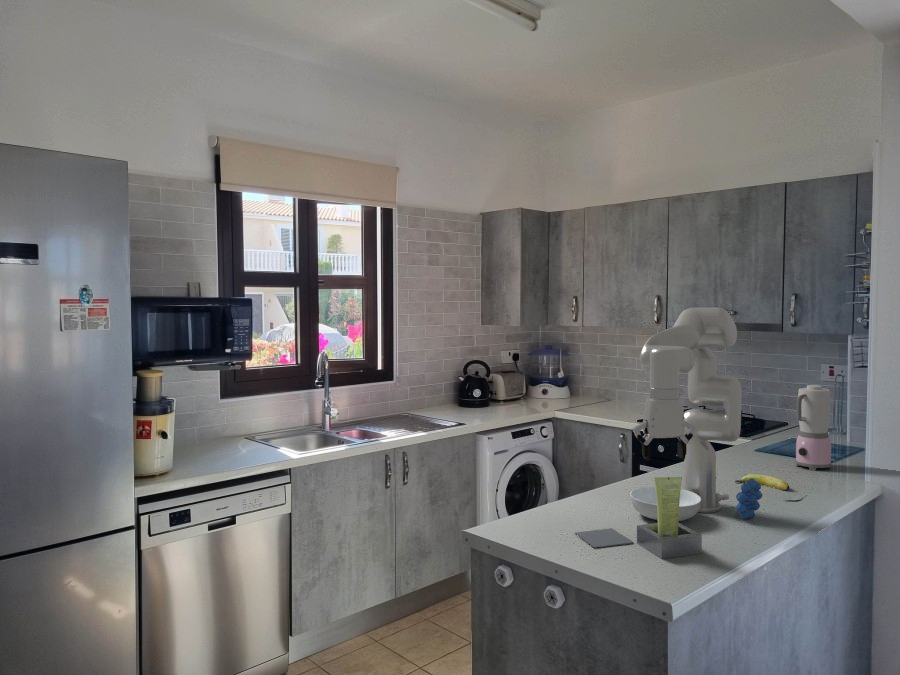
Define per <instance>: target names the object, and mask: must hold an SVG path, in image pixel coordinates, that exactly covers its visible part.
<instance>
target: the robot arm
mask: <svg viewBox="0 0 900 675" xmlns="http://www.w3.org/2000/svg"><path fill="white" fill-rule="evenodd" d="M673 324H674V325H673V326H672V327H669V328H667V329H664V330H662V331H659V332H658V333H655V334H653V335H651V336H650V337H649V338H648V339H647V340H646V342H645V343H644V345H643V347H642V349H641V352H640V355H639V362H640V368H642V369H643V371H645V372H648V373H649V398H647V399H646V401H645V405H644V410H643V418H642V422H641V423H638V424H637V425H635V426H634V427H632V430H631V431H632V432H633V434H634V436H635V438H636V439H637V440H638V441H639V443H640V444H641V455H642V456H641V457H643V459H644V460H645V461H651V458H652V457H651V455H652V454H651V453H652V452H651V449H652V448H651V445H650V443H651V442H652V440H653V439H667V438H668V439H670V438H671V439H672V438H677V439H678V441H677V457H678V458H679V459H681V460H683V462H684V465H683V467H684V468H683V469H684V470H683V473H684V474H683V475H684V476H683V478H684V480H683V481H684V482H683V484H684V485H683V488H684V490H687V491H690V492H693V493H695V494H697V495H698V496H700V498H701V505H700V508H699V510H698V512H697V513H703V514H704V513H706V514H707V513H716V512H719V511H720V510H722V504H721V503H720V502H721V501H727V500H729V499H730V496H729V494H728V493H720V492H717V454H716V450H715V449H714V447H713V445H712V444H711V442H710V441H717V442H730V443H731V442H732V443H733V442H736V441H737V440H738V439H739V438H740V435H741V426H742V423H741V422H742V385H741V381H739V379H738V378H736V377H734V376H727V375H717V374H718V373H717V372H718V370H717V368H718V360H717V358H716V356H715V354H714V353H713V352H712V350H711V349H710V348H731V347H733V346H734V345H735V344H736V342H737V338H738V329H737V326H736V323H735V322H734V320H733V318H732V316H731V315H730V313H729V312H728V311H727V310H726V309H725V308H722V307H717V306H714V307H711V306H710V307H706V306H705V307H704V306H703V307H688V308H686V309H684V310H683V311H682V312H681V313H680V314H679V315H678V318H677V319H676V321H675V323H673ZM687 373H688V375H687V376H688V377H687V396H688V397H687V398H688V400H689V401H690V403H691V404H694V405H702V406H712V407H713V406H714V407H715V406H717V407H723V408H724V410H719V409H718V410H717V409H716V410H715V409H708V408H705V409H703V408H693V409H692V408H691V409H688V410H685V411H684V405H683V401H682V399H680V398H681V396H683V395H685V390H684V389H681V387H680V375H681V374H687ZM641 431H642V433H643V434H644V435H642V434H641Z"/></svg>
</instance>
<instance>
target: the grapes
mask: <svg viewBox="0 0 900 675" xmlns="http://www.w3.org/2000/svg"><path fill="white" fill-rule="evenodd" d="M761 488H762V485H760V483H759V482H757V481H755V480H754V479H753V478H752V479H749V480H748V481H747V482H746V483H741V486H740V490H741V491H739V492H737V494H736V496H735V497H736V500H737V502H738V503H737V505H736V506H735V507H736V508H735V509H736V511H737V513H738V514H739V517H740V518H741V519H743V520H746V519H747V518H748V519H751V518H753V517H754V516H755V515H756V513H755V512H756V511H757V510H759V509H760V508H761V504H760V500H761V499H762V498H763V493H762V491H761Z"/></svg>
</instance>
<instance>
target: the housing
mask: <svg viewBox="0 0 900 675" xmlns="http://www.w3.org/2000/svg"><path fill="white" fill-rule="evenodd" d="M702 539H703V535H702V534H701V533H699V532H697V531H695V530H693V529H692V528H689V527H687V526H686V525H683V524H682V523H679V522H678V535H677V536H669V537H663V536H661V535H659V534H658V522H654V523H647V524H637V525H636V544H637V545H638V546H641V547H642V548H644V549H646V550H647V551H648V552H650V553H652V554H653V555H654V556H656V557H658V558H659V559H661V560H663V559H664V560H665V559H672V558H673V559H674V558H678V557H679V558H680V557H687V556H688V557H689V556H695V555H702V553H703V551H702V550H703V549H702V548H703V547H702V546H703V545H702V544H703V540H702Z"/></svg>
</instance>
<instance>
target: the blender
mask: <svg viewBox="0 0 900 675" xmlns="http://www.w3.org/2000/svg"><path fill="white" fill-rule="evenodd" d="M831 404H832V403H831V390H830V389H829V388H823V386H822V385H817V384H815V385H814V384H808V385H806V387H801V388H798V394H797V398H796V419H797V421H798V424H799V434H798V436H797V438H796V443H795V466H796V467H797V468H798V467H799V466H802V467H805V468H807V467H808V469H809V471H816V470H817V469H825V468H829V469H831V468H832V442H831V438H830V437H829V432H828V431H829V426H830V420H831V412H832V411H831V408H832V407H831V406H832V405H831Z"/></svg>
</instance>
